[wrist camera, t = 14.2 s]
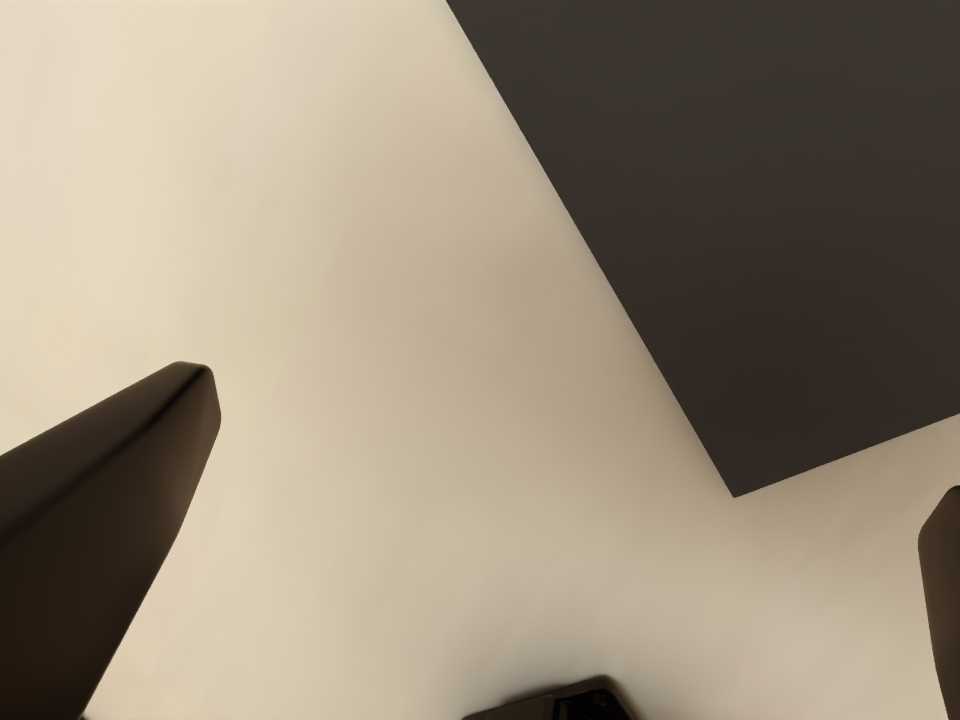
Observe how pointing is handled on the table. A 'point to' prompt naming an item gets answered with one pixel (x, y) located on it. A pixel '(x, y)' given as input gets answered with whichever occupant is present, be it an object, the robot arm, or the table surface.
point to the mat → (759, 202)
